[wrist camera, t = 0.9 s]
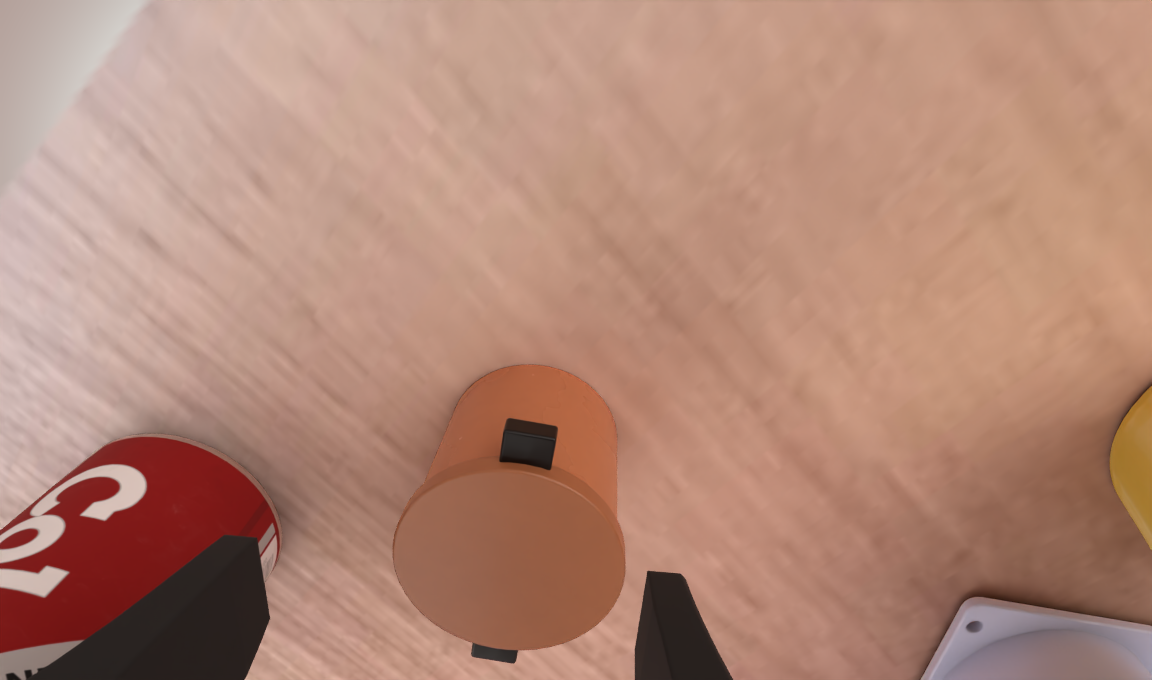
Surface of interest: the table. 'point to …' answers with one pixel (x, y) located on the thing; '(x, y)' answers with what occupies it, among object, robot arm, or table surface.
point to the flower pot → (1135, 464)
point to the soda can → (118, 540)
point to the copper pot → (517, 516)
